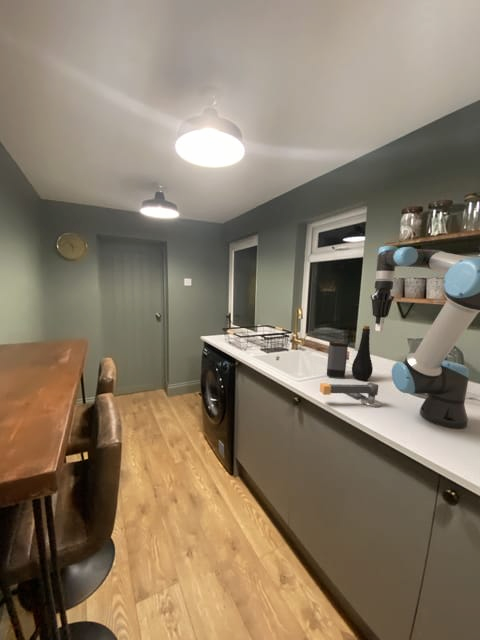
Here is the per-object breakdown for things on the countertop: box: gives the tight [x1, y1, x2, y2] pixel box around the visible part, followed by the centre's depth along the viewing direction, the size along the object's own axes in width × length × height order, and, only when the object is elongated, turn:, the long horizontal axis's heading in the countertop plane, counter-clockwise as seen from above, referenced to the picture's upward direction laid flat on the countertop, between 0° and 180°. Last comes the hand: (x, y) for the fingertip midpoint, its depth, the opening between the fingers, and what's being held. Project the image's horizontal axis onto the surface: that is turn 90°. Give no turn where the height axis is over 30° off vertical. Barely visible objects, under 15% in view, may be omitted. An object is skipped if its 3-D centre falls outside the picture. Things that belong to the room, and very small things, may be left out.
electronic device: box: [326, 340, 349, 380], centre depth 154 cm, size 9×6×20 cm, turn 84°
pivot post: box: [360, 394, 382, 408], centre depth 119 cm, size 8×8×4 cm
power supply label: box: [344, 393, 368, 400], centre depth 128 cm, size 8×6×1 cm
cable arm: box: [319, 382, 379, 396], centre depth 118 cm, size 25×4×4 cm, turn 97°
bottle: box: [351, 325, 374, 382], centre depth 152 cm, size 11×11×30 cm
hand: (378, 330), depth 130 cm, fingers closed
